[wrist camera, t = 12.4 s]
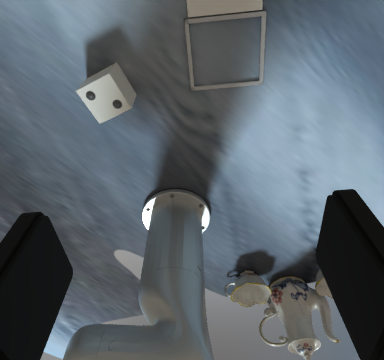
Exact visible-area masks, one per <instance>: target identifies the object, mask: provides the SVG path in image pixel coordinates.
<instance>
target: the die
mask: <svg viewBox="0 0 384 360" xmlns="http://www.w3.org/2000/svg"><path fill="white" fill-rule="evenodd" d="M76 92H77V93H78V95H79V96H80V97H81V99H82V100H83V102H84V103H85V104H86V106H87V107H88V108H89V110H90V111H91V113H92V114H93V115H94V117H95V118H96V120H97V121H98V122H99V124H101V123H103V122H105V121H107V120H109V119H111V118H113V117H115V116H117V115H119V114H121V113H123V112H126V111H128V110H130V109H131V108H132V106H133V103H134V101H135V98H136V96H137V94H136V92H135V91H134V89H133V88H132V86H131V84H130V83H129V81H128V79H127V78H126V76H125V74H124V73H123V71H122V69H121V68H120V66H119V65H118V63H117V62H116V63H115V64H113V65H111V66H109V67H107V68H105V69H103V70H102V71H100V72H98V73H96V74H94V75H92V76H90V77H88V78H87V79H86V80H85V81H84V82H83V83H82V85H81V86H80V87H79V88H78V89H77V90H76Z"/></svg>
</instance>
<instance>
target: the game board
mask: <svg viewBox="0 0 384 360" xmlns="http://www.w3.org/2000/svg"><path fill="white" fill-rule="evenodd" d="M262 4H263V0H187V11H188V17H198V16H207V15H217V14H226V13H236V12H245V11H255V10H262ZM259 16H261V39H260V65H259V80H257V81H247V82H236V83H225V84H214V85H203V86H194V77H193V66H192V55H191V44H190V32H189V24H192V23H201V22H211V21H221V20H230V19H240V18H250V17H259ZM184 23H185V33H186V43H187V54H188V64H189V74H190V85H191V91H198V90H209V89H220V88H231V87H242V86H253V85H263V72H264V51H265V30H266V11H258V12H248V13H239V14H229V15H220V16H210V17H200V18H191V19H184Z"/></svg>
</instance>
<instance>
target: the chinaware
mask: <svg viewBox="0 0 384 360" xmlns="http://www.w3.org/2000/svg"><path fill="white" fill-rule="evenodd" d="M240 275H241V276H240V277H239V278H238V279H235V280H236V282H235V283H230V284H228V285H227V286H226V287H225V293H226V289H227V287H228V286H229V285H233V284H235V285H234V290H233V292H232V293H231V295H228V294H227V293H226V295H227V296H229V297H231V300H232V301H234V302H238V303H239V304H240V305H242V306H244V307H251V306H253V305H254V304H255V303H256V304H264V303H267V305H268V306H269V307H270V308H266V309H265V311H264V314H265V316H266V317H265V318H264V319H263V320H262V321H261V323H260V326H259V332H260V336H261V338H262V339H263V341H264V342H266V343H267V344H269V345H271V346H283V345H286V344H287V342H288V349H289V351H291V352H293V353H298V354H299V355H301V356H304V357H303V358H304V359H306V360H310V358H311V355H312V354H313V353H314V351H315V350H317V349H318V348H320V346H321V343H320V341H319V340H318V339H317V337H316V335H315V332H314V329H313V325H312V315H311V311H312V310H313V309H318V310H319V311H320V314H321V318H322V323H323V327H324V331H325V333H326V335H327V337H328V338H329V339H330V340H332V341H333V342H335V343H339V342H341V341H340V340H339V339H338V338H337V337H335V335H334V334H333V332H332V324H331V323H332V322H331V311H330V307H329V304H328V302H327V299H326V298H325V295H326V294H327V296H329V297H332V294H331V292H330V290H329V288H328V285H327V283H326V281H325V279H324V276H323V274H322V272H321V270H320V269H319V270H318V272H317V275H316V285H315V287H316V290H314V289H312V288H310V287H308V285H307V284H306V283H305V281H304V280H303V279H301V278H299V277H294V276H288V277H282V278H279V279H277V280H275V281H274V282H273V283H272V284H271V285H270V287H268V286H267V285H266V284H265V282H264V280H263V279H262V278H261V277H260V276H258V275H256V274H254V271H246V270H245V272H243V273H242V274H240ZM332 298H333V297H332ZM272 313H273V314H272ZM271 314H272V315H271ZM276 314H277V315H278V317H279V318H280V320H281V321H282V323H283V325H284V327H285V330H286V333H287V337H288V339H287V338H286V337H283V336H280V337H279V339H280V341H281V342H283V343H272V342H269V341H267V340H266V339H265V337H264V336H263V333H262V326H263V324H264V323H265V321H266V320H268V319H269V318H272V317H274V316H275V315H276ZM284 339H286V341H285V342H284Z"/></svg>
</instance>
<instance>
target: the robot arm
mask: <svg viewBox="0 0 384 360" xmlns="http://www.w3.org/2000/svg"><path fill="white" fill-rule="evenodd" d="M142 219H143V223H144V225H145V227H146V228H147V229H148V235H147V242H146V248H145V254H144V261H143V267H142V274H141V280H140V286H139V303H140V307H141V310H142V312H143V315H144V316H145V318H146V320H147V322H148V323H149V324H150V325H143V326H135V325H113V324H107V325H106V324H93V325H87V326H84V327H82V328H80V329H79V330H78V331H77V332H75V334H74V335H73V336H72V338H71V340H70V341H69V344H68V346H67V348H66V352H65V355H64V358H63V360H214V358H213V353H212V348H211V343H210V338H209V333H208V326H207V318H206V307H205V287H204V260H203V235H202V233H203V232H204V231H205V230H206V228H207V227H208V225H209V222H210V210H209V207H208V205H207V204H206V202H205V201H204V200H203V199H202V198H201V197H200V196H198V195H197V194H195V193H192V192H190V191H186V190H181V189H169V190H164V191H161V192H158V193H156V194H155V195H153V196H152V197H151V198H149V199H148V201H147V202H146V203H145V205H144V208H143V212H142ZM316 259H317V263H318V265H319V267H320V270H321V272H322V274H323V276H324V279H325V281H326V283H327V285H328V288H329V290H330V292H331V294H332V297H333V299H334V301H335V303H336V306H337V308H338V310H339V312H340V315H341V317H342V319H343V322H344V324H345V326H346V328H347V331H348V333H349V335H350V337H351V340H352V342H353V344H354V346H355V349H356V351H357V353H358V356H359V358H360V359H361V360H384V227H383V226H382V224H381V223H380V222H379V220H378V219H377V218H376V217H375V215H374V214H373V213H372V211H371V210H370V209H369V207H368V206H367V205H366V204H365V202H364V201H363V200H362V198H361V197H360V196H359V194H358V193H357V192H356V191H355V190H353V189H348V190H336V191H334V192H333V194H332V195H329V196H328V197H327V200H326V205H325V210H324V215H323V220H322V225H321V230H320V234H319V239H318V244H317V249H316ZM72 276H73V269H72V266H71V264H70V262H69V260H68V257H67V255H66V253H65V251H64V249H63V247H62V245H61V242H60V240H59V238H58V236H57V234H56V232H55V230H54V227H53V225H52V223H51V221H50V219H49V217H48V216H44V214H43V213H42V212H31V213H23V214H21V215H20V216H19V217H18V219H17V220H16V222H15V223H14V224H13V226H12V227H11V229H10V230H9V231H8V233H7V234H6V236H5V237H4V239H3V240H2V241H1V243H0V360H40V359H41V356H42V354H43V351H44V348H45V346H46V343H47V341H48V338H49V336H50V333H51V331H52V328H53V325H54V323H55V320H56V318H57V315H58V313H59V310H60V307H61V305H62V302H63V300H64V297H65V295H66V292H67V290H68V287H69V284H70V282H71V279H72Z"/></svg>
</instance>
